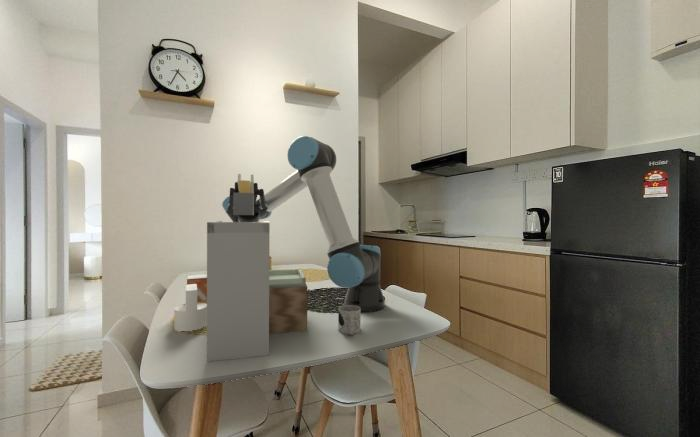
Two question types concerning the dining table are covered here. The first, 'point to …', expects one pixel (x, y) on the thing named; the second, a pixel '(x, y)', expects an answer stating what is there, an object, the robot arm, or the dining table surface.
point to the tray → (286, 278)
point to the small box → (199, 286)
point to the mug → (349, 319)
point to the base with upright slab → (190, 312)
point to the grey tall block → (237, 290)
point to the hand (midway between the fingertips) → (245, 178)
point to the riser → (287, 309)
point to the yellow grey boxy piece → (243, 199)
